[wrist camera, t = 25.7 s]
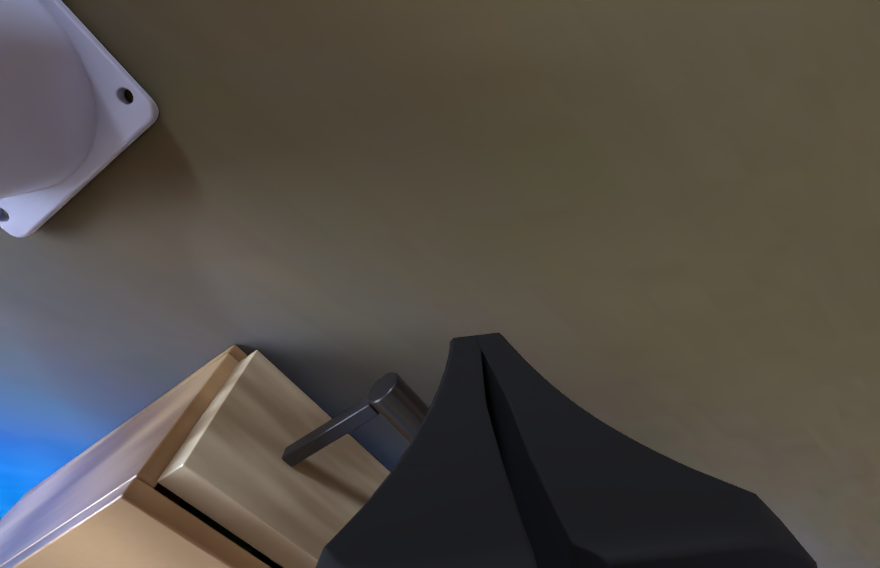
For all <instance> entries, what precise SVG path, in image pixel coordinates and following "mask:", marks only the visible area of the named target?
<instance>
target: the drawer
mask: <svg viewBox="0 0 880 568" xmlns="http://www.w3.org/2000/svg"><path fill="white" fill-rule="evenodd" d="M428 410H429V407H428V406H427V405H426V404H425V403H424V402H423V401H422V400H421V399H420V398H419V397H418V396H417V395H416V393H415V392H414V391H413V390H412V389H411V388H410V387H409V386H408V385H407V384H406V383H405V382H404V381H403V380H402V379H401V377H400V376H399V375H398V374H396V373H394V372H390V373H387V374H385V375H383V376H382V377H381V378H379V379H378V380H377V381H376V382H375V383H374V384H373V386H372V387H371V389H370V390H369V393H368V396H367V397H366V398H365V399H363V400H362V401H360V402H358V403H357V404H355V405H354V406H352V407H350V408H349V409H347V410H345V411H344V412H342V413H341V414H339V415H337V416H336V417H334V418H333V419H332V418H331V417H330V416H329V415H328V414H326V413H325V412H324V411H323V410H322V409H321V408H320V407H319V406H318V405H317V404H316V403H314V402H313V401H312V400H311V399H310V398H309V397H308V396H307V395H306V394H305V393H304V392H303V391H301V390H300V389H299V388H298V387H297V386H296V385H295V384H294V383H293V382H292V381H291V380H289V379H288V378H287V377H286V376H285V375H284V374H283V373H282V372H281V371H280V370H279V369H277V368H276V367H275V366H274V365H273V364H272V363H271V362H270V361H269V360H268V359H267V358H266V357H264V356H263V355H262V354H261V353H260V352H259V351H258V350H256V351H254V352H253V353H251V354H250V355H248V356H247V357H246V358H244V359H243V360H241V361H240V362H238V363H237V365H236V366H235V368H234V369H233V371H232V372H231V374H230V375H229V377H228V378H227V379H226V381H225V382H224V384H223V385H222V387H221V388H220V390H219V391H218V393H217V394H216V396H215V397H214V399H213V400H212V401H211V403H210V404H209V406H208V407H207V409H206V410H205V412H204V413H203V415H202V416H201V418H200V419H199V420H198V422H197V423H196V425H195V426H194V428H193V429H192V431H191V432H190V434H189V435H188V437H187V438H186V439H185V441H184V442H183V444H182V445H181V447H180V448H179V450H178V451H177V453H176V454H175V456H174V457H173V459H172V460H171V461H170V463H169V464H168V466H167V467H166V469H165V470H164V472H163V473H162V475H161V476H160V478H159V479H158V481H157V482H158V484H157V485H156V487H155V488H153V489H155V490H156V491H158V492H159V493H161V494H162V495H164V496H165V497H167V498H168V499H170V500H171V501H173V502H174V503H176V504H178V503H179V501H180V499H181V498H182V499H183V500H184V501H186V502H187V503H189V504H190V505H192V506H193V507H195V508H196V509H198V510H199V511H201V512H202V513H204V514H205V515H207V516H208V517H209V518H211V519H212V520H214V521H215V522H217V523H218V524H220V525H221V526H223V527H224V528H226V529H227V530H229V531H230V532H232V533H233V534H234V535H236V536H237V537H239V538H240V539H242V540H243V541H245V542H246V543H248V544H249V545H251V546H252V547H254V548H255V549H257V550H258V551H259V552H261V553H262V554H264V555H265V556H267V557H268V558H270V560H269V564H268V566H270V567H271V568H315V567H316V565H317V562H318V560H319V557H320V555H321V552H322V550H323V548H324V546H325V545H326V544H327V543H328V542H329V541H330V540H331V539H332V538H333V537H334V536H335V535H336V534H337V533H338V532H339V531H340V530H341V529H342V528H343V527H344V526H345V525H346V524H347V523H348V522H349V521H350V519H351V518H352V517H353V516H354V515H355V514H356V513H357V512H358V511H359V510H360V509H361V508H362V507H363V505H364V504H365V503H366V502H367V501H368V500H369V498H370V497H371V496H372V495H373V493H374V492H375V491H376V490H377V488H378V487H379V486H380V485H381V483H382V482H383V481H384V480H385V479H386V477H387V476H388V475H389V474H390V471H389V470H387V469H386V468H385V467H384V466H383V465H382V464H381V463H380V462H379V461H378V460H377V459H375V458H374V457H373V456H372V455H371V454H370V453H369V452H368V451H367V450H366V449H365V448H363V447H362V446H361V445H360V444H359V443H358V442H357V441H356V440H355V439H354V438H353V437H352V436H350V435H349V434H348V433H349V432H351V431H353V430H354V429H356V428H358V427H359V426H361V425H363V424H364V423H366V422H367V421H369V420H371V419H372V418H374V417H376V416H377V415H378V414H379V413H380V414H381V415H382V416H383V417H384V418H385V419H386V420H387V421H388V422H389V423H390V424H391V425H392V426H393V427H394V428H395V429H396V430H397V431H398V432H399V433H400V434H401V435H402V436H403V437H404V438H405V439H406V440H407V441H408V442H409V443H411V441H412V440H413V438H414V436H415V435H416V433H417V431H418V429H419V428H420V426H421V424H422V422H423V420H424V418H425V416H426V415H427V413H428Z"/></svg>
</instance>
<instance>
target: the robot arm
mask: <svg viewBox="0 0 880 568" xmlns="http://www.w3.org/2000/svg"><path fill="white" fill-rule="evenodd" d="M126 89H128V90H129V91H131V93H132V95H133V102H132V103H129V102H128V101H127V100H126V98H125V95H124V92H125V90H126ZM158 114H159V111H158V107H157V105H156V103H155V102H154V100H153V99H152V98H151V97H150V96H149V95H148V94H147V93H146V92H145V91H144V89H143V88H142V87H141V86H140V85H139V84H138V83H137V82H136V81H135V80H134V79H133V78H132V76H131V75H130V74H129V73H128V72H127V71H126V70H125V69H124V68H123V67H122V66H121V65H120V63H119V62H118V61H117V60H116V59H115V58H114V57H113V56H112V55H111V54H110V53H109V52H108V50H107V49H106V48H105V47H104V46H103V45H102V44H101V43H100V42H99V41H98V40H97V39H96V37H95V36H94V35H93V34H92V33H91V32H90V31H89V30H88V29H87V28H86V27H85V26H84V24H83V23H82V22H81V21H80V20H79V19H78V18H77V17H76V16H75V15H74V14H73V13H72V12H71V10H70V9H69V8H68V7H67V6H66V5H65V4H64V3H63V2H62V1H61V0H0V227H1V228H2V229H4V230H5V231H6V232H7V233H9V234H10V235H12V236H15V237H26V236H28V235H31V234H33V233H35V232H36V231H37V230H38V229H39V228H40V227H41V226H42V225H43V224H44V223H45V222H46V221H48V220H49V219H50V218H51V217H52V216H53V215H54V214H55V213H56V212H57V211H58V210H60V209H61V208H62V207H63V206H64V205H65V204H66V203H67V202H68V201H69V200H70V199H72V198H73V197H74V196H75V195H76V194H77V193H78V192H79V191H80V190H81V189H82V188H83V187H85V186H86V185H87V184H88V183H89V182H90V181H91V180H92V179H93V178H94V177H95V176H97V175H98V174H99V173H100V172H101V171H102V170H103V169H104V168H105V167H106V166H107V165H109V164H110V163H111V162H112V161H113V160H114V159H115V158H116V157H117V156H118V155H119V154H120V153H122V152H123V151H124V150H125V149H126V148H127V147H128V146H129V145H130V144H131V143H132V142H134V141H135V140H136V139H137V138H138V137H139V136H140V135H141V134H142V133H143V132H144V131H146V130H147V129H148V128H149V127H150V126H151V125H152V124H153V123H154V122H155V121H156V120H157V118H158ZM3 209H4V210H5V211H6V212H7V213H8V215H9V217H7V216H6V215H5V214H4V212H3ZM315 568H817V564H816V562H815V561H814V560H813V558H812V557H811V556H810V555H809V554H808V552H807V551H806V550H805V549H804V548H803V547H802V545H801V544H800V543H799V542H798V541H797V539H796V538H795V537H794V536H793V534H792V533H791V532H790V531H789V530H788V528H787V527H786V526H785V525H784V524H783V522H782V521H781V520H780V519H779V518H778V517H777V516H776V515H775V514H774V513H773V512H772V511H771V510H770V509H769V508H768V507H767V505H766V504H765V503H764V502H763V501H762V500H761V499H760V498H759V497H758V496H757V495H756V494H754V493H752V492H749V491H747V490H744V489H742V488H739V487H737V486H734V485H732V484H729V483H727V482H724V481H722V480H719V479H717V478H714V477H712V476H709V475H707V474H704V473H702V472H699V471H697V470H694V469H692V468H690V467H687V466H685V465H683V464H681V463H679V462H677V461H675V460H673V459H670V458H668V457H666V456H664V455H662V454H660V453H658V452H656V451H654V450H652V449H650V448H648V447H646V446H644V445H642V444H640V443H638V442H636V441H634V440H633V439H631V438H629V437H627V436H626V435H624V434H622V433H620V432H619V431H617V430H615V429H613V428H612V427H610V426H608V425H607V424H605V423H603V422H602V421H600V420H599V419H597V418H595V417H594V416H593V415H591V414H590V413H588V412H587V411H585V410H584V409H582V408H581V407H579V406H578V405H576V404H575V403H574V402H572V401H571V400H570V399H569V398H567V397H566V396H565V395H564V394H562V393H561V392H560V391H559V390H557V389H556V388H555V387H554V386H553V385H551V384H550V383H549V382H548V381H547V380H546V379H544V378H543V377H542V376H541V375H540V374H539V373H538V372H537V371H536V370H535V369H534V368H533V367H532V366H531V365H529V364H528V363H527V362H526V361H525V360H524V359H523V358H522V356H521V355H520V354H519V353H518V352H517V351H516V350H515V349H514V348H513V347H512V346H511V345H510V344H509V343H508V341H507V340H506V339H505V338H504V337H503V336H502V335H501V334H500V333H492V334H484V335H475V336H467V337H458V338H453V339H452V340H451V341H450V349H449V356H448V360H447V364H446V367H445V370H444V373H443V376H442V379H441V382H440V385H439V388H438V390H437V392H436V395H435V397H434V399H433V402H432V404H431V406H430V408H429V410H428V413H427V415H426V416H425V418H424V420H423V422H422V424H421V426H420V428H419V429H418V431H417V433H416V435H415V436H414V438H413V440H412V441H411V443H410V444H409V446H408V447H407V449H406V451H405V452H404V454H403V455H402V457H401V458H400V460H399V461H398V463H397V464H396V465H395V467H394V468H393V470H392V471H391V472H390V474H389V475H388V476H387V477H386V479H385V480H384V481H383V482H382V483H381V485H380V486H379V487H378V488H377V490H376V491H375V492H374V493H373V495H372V496H371V497H370V498H369V500H368V501H367V502H366V503H365V504H364V505H363V507H362V508H361V509H360V510H359V511H358V512H357V513H356V514H355V515H354V516H353V517H352V518H351V519H350V521H349V522H348V523H347V524H346V525H345V526H344V527H343V528H342V529H341V530H340V531H339V532H338V533H337V534H336V535H335V536H334V537H333V538H332V539H331V540H330V541H329V542H328V543H327V544H326V545H325V546H324V548H323V550H322V552H321V555H320V557H319V560H318V562H317V565H316V567H315Z"/></svg>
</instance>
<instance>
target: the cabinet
mask: <svg viewBox="0 0 880 568" xmlns="http://www.w3.org/2000/svg"><path fill="white" fill-rule="evenodd" d="M246 357H247V355H246V354H245V353H244V352H243V351H242V350H241V349H240V348H239V347H237V346H236V345H232V346H231V347H230V348H228V349H227V350H225V351H224V352H223V353H221V354H220V355H218V356H217V357H216V358H214V359H213V360H211V361H210V362H209V363H207V364H206V365H204V366H203V367H202V368H200V369H199V370H197V371H196V372H195V373H193V374H192V375H190V376H189V377H188V378H186V379H185V380H183V381H182V382H181V383H179V384H178V385H176V386H175V387H173V388H172V389H171V390H169V391H168V392H166V393H165V394H164V395H162V396H161V397H159V398H158V399H157V400H155V401H154V402H152V403H151V404H150V405H148V406H147V407H145V408H144V409H143V410H141V411H140V412H138V413H137V414H136V415H134V416H133V417H131V418H130V419H129V420H127V421H126V422H124V423H123V424H122V425H120V426H119V427H117V428H116V429H115V430H113V431H112V432H110V433H109V434H108V435H106V436H105V437H103V438H102V439H101V440H99V441H98V442H96V443H95V444H94V445H92V446H91V447H89V448H88V449H87V450H85V451H84V452H82V453H81V454H80V455H78V456H77V457H75V458H74V459H73V460H71V461H70V462H68V463H67V464H66V465H64V466H63V467H61V468H60V469H59V470H57V471H56V472H54V473H53V474H52V475H50V476H49V477H47V478H46V479H44V480H43V481H42V482H40V483H39V484H37V485H36V486H35V487H33V488H32V489H30V490H29V491H28V492H27V493H26V494H25V495H24V496H23V497H22V498H21V499H20V500H19V501H18V502H17V503H16V504H15V505H14V506H13V507H12V508H11V509H10V510H9V511H8V512H7V513H6V514H5V515H4V516H3V517H2V518H1V519H0V568H271V567H270V566H268V565H267V564H265V563H264V562H262V561H261V560H259V559H258V558H256V557H255V556H253V555H252V554H250V553H249V552H247V551H246V550H245V549H243V548H242V547H240V546H239V545H237V544H236V543H234V542H233V541H231V540H230V539H228V538H227V537H225V536H224V535H222V534H221V533H219V532H218V531H216V530H215V529H213V528H212V527H210V526H209V525H207V524H206V523H204V522H203V521H201V520H200V519H198V518H197V517H195V516H194V515H192V514H191V513H189V512H188V511H186V510H185V509H183V508H182V507H180V506H179V505H177V504H176V503H174V502H173V501H171V500H170V499H168V498H167V497H165V496H164V495H162V494H161V493H159V492H158V491H156V490H155V489H153V488H155V487H156V485H157V484H158V482H157V481H158V479H159V478H160V476H161V475H162V473H163V472H164V470H165V469H166V467H167V466H168V464H169V463H170V461H171V460H172V459H173V457H174V456H175V454H176V453H177V451H178V450H179V448H180V447H181V445H182V444H183V442H184V441H185V439H186V438H187V437H188V435H189V434H190V432H191V431H192V429H193V428H194V426H195V425H196V423H197V422H198V420H199V419H200V418H201V416H202V415H203V413H204V412H205V410H206V409H207V407H208V406H209V404H210V403H211V401H212V400H213V399H214V397H215V396H216V394H217V393H218V391H219V390H220V388H221V387H222V385H223V384H224V382H225V381H226V379H227V378H228V377H229V375H230V374H231V372H232V371H233V369H234V368H235V366H236V365H237V363H238V362H240V361H241V360H243V359H244V358H246Z"/></svg>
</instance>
